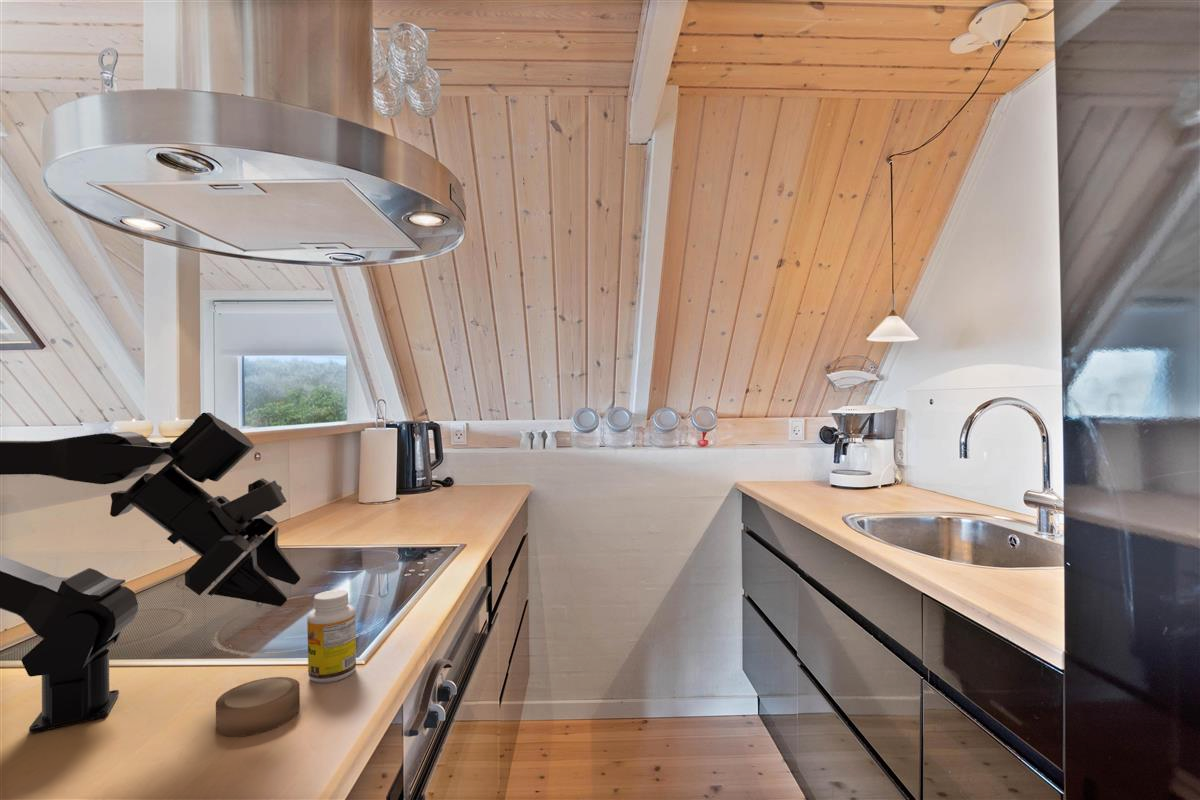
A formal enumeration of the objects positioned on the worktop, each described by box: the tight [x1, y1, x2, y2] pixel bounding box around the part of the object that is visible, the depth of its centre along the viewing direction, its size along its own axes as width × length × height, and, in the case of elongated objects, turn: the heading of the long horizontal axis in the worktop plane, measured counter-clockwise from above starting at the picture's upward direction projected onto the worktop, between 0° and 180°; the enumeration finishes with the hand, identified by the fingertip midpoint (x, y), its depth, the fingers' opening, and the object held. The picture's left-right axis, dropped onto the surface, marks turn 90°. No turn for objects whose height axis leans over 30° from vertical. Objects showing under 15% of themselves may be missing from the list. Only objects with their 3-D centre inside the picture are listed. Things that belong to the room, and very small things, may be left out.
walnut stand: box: [215, 676, 301, 737], centre depth 65 cm, size 8×8×3 cm
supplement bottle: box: [306, 589, 357, 684], centre depth 75 cm, size 6×6×10 cm
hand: (291, 591), depth 73 cm, fingers open, 9 cm apart
